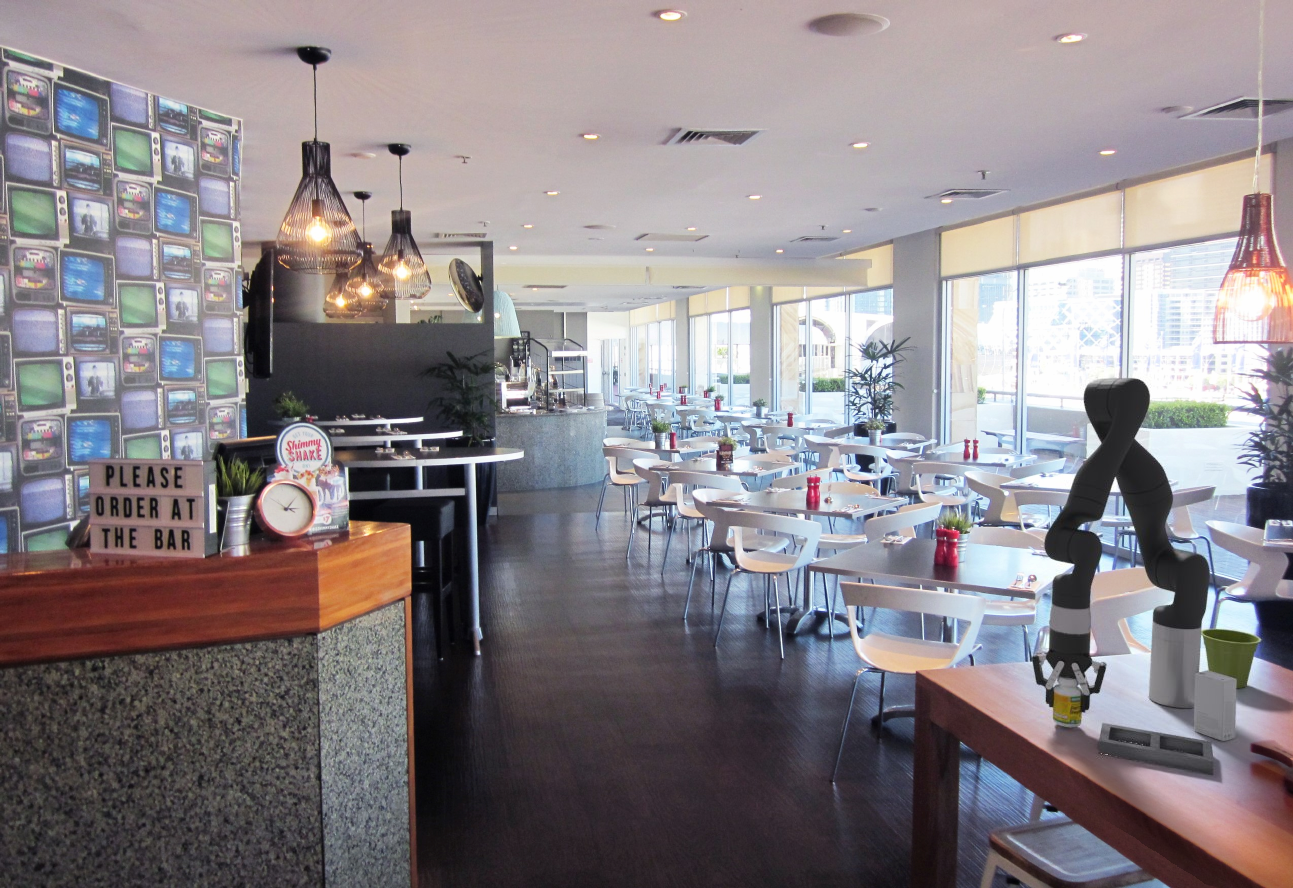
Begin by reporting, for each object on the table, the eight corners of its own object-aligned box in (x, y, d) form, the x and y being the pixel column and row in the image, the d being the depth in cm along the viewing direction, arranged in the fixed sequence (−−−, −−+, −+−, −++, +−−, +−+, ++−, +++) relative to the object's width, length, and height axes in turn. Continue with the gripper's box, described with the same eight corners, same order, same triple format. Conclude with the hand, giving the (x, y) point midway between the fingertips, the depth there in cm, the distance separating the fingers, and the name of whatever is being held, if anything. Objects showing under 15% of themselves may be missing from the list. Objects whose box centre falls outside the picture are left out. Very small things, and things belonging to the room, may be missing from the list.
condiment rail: (1101, 734, 184) (1102, 722, 184) (1210, 754, 175) (1211, 741, 175) (1098, 753, 176) (1098, 740, 176) (1212, 774, 167) (1213, 761, 167)
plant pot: (1262, 682, 215) (1265, 634, 214) (1253, 696, 206) (1256, 646, 205) (1203, 670, 222) (1205, 624, 221) (1192, 684, 213) (1195, 636, 212)
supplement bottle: (1062, 715, 192) (1064, 670, 191) (1086, 723, 188) (1088, 677, 187) (1046, 721, 189) (1048, 675, 188) (1071, 730, 185) (1073, 683, 184)
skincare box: (1236, 738, 183) (1239, 678, 182) (1221, 742, 181) (1225, 681, 180) (1205, 727, 188) (1208, 668, 187) (1191, 731, 186) (1194, 672, 185)
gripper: (1111, 626, 186) (1107, 708, 188) (1033, 617, 193) (1031, 696, 195) (1108, 636, 180) (1105, 721, 182) (1029, 626, 187) (1026, 708, 189)
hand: (1067, 708), depth 188 cm, fingers closed on supplement bottle, 5 cm apart
